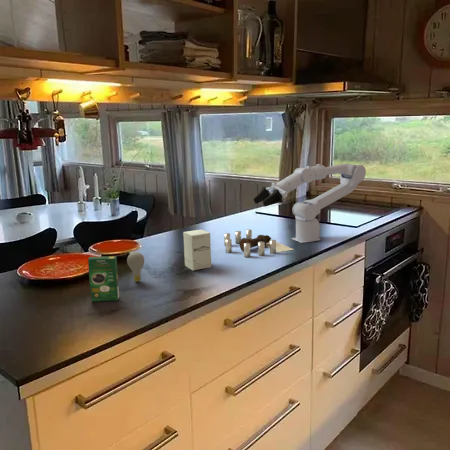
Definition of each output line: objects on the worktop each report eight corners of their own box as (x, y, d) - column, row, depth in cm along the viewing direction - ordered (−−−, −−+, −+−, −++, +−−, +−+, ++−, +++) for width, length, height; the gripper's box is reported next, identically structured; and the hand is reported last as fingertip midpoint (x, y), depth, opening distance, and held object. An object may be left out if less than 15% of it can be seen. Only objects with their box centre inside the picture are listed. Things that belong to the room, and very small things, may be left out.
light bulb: (131, 279, 151) (128, 250, 149) (147, 278, 151) (145, 249, 149) (127, 284, 146) (124, 254, 144) (144, 284, 146) (141, 254, 144)
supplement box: (192, 271, 157) (190, 235, 154) (184, 265, 164) (182, 231, 161) (212, 267, 160) (210, 232, 158) (203, 262, 167) (201, 228, 164)
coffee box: (120, 297, 136) (117, 254, 133) (119, 301, 133) (115, 257, 130) (93, 298, 135) (88, 256, 132) (91, 302, 132) (86, 259, 130)
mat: (268, 238, 197) (268, 238, 197) (294, 249, 179) (294, 249, 179) (254, 240, 194) (254, 240, 194) (278, 252, 176) (278, 252, 176)
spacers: (250, 240, 195) (250, 229, 193) (277, 253, 175) (277, 240, 173) (214, 246, 188) (214, 234, 187) (238, 259, 168) (238, 246, 167)
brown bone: (270, 247, 189) (245, 255, 178) (261, 240, 191) (237, 247, 181) (275, 236, 186) (251, 243, 175) (267, 229, 188) (242, 235, 178)
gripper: (273, 175, 189) (246, 191, 185) (292, 179, 176) (264, 196, 172) (279, 190, 191) (253, 206, 188) (298, 194, 178) (271, 212, 175)
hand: (259, 202), depth 180 cm, fingers open, 7 cm apart
